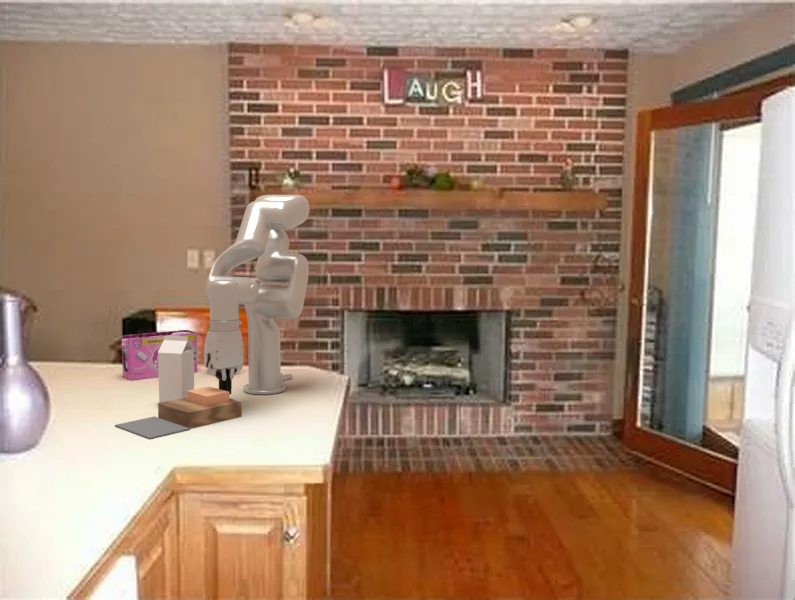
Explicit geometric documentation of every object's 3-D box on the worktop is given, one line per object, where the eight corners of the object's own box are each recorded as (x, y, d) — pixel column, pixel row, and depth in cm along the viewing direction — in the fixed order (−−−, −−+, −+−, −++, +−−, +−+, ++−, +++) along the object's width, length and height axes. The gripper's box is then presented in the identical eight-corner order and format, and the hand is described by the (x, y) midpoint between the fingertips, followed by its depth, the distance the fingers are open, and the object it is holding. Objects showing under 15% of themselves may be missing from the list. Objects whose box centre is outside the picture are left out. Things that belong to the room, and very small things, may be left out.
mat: (154, 417, 199) (154, 416, 199) (189, 429, 189) (189, 428, 189) (115, 426, 191) (114, 424, 191) (149, 439, 181) (149, 437, 181)
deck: (210, 407, 211) (210, 392, 211) (241, 416, 202) (241, 401, 201) (158, 418, 199) (158, 403, 199) (189, 428, 190) (188, 412, 189)
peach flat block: (209, 395, 207) (209, 386, 207) (229, 401, 202) (229, 391, 201) (186, 400, 202) (186, 390, 202) (206, 405, 196) (206, 396, 196)
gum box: (126, 381, 242) (125, 339, 240) (118, 377, 248) (116, 335, 246) (198, 372, 257) (197, 332, 255) (188, 368, 263) (187, 329, 261)
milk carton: (182, 407, 210) (181, 339, 208) (159, 405, 212) (157, 337, 210) (194, 401, 217) (193, 335, 215) (171, 399, 219) (170, 333, 217)
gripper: (238, 322, 212) (239, 387, 214) (192, 327, 201) (193, 396, 203) (255, 324, 207) (256, 391, 209) (209, 330, 196) (210, 400, 198)
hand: (225, 393), depth 206 cm, fingers closed
